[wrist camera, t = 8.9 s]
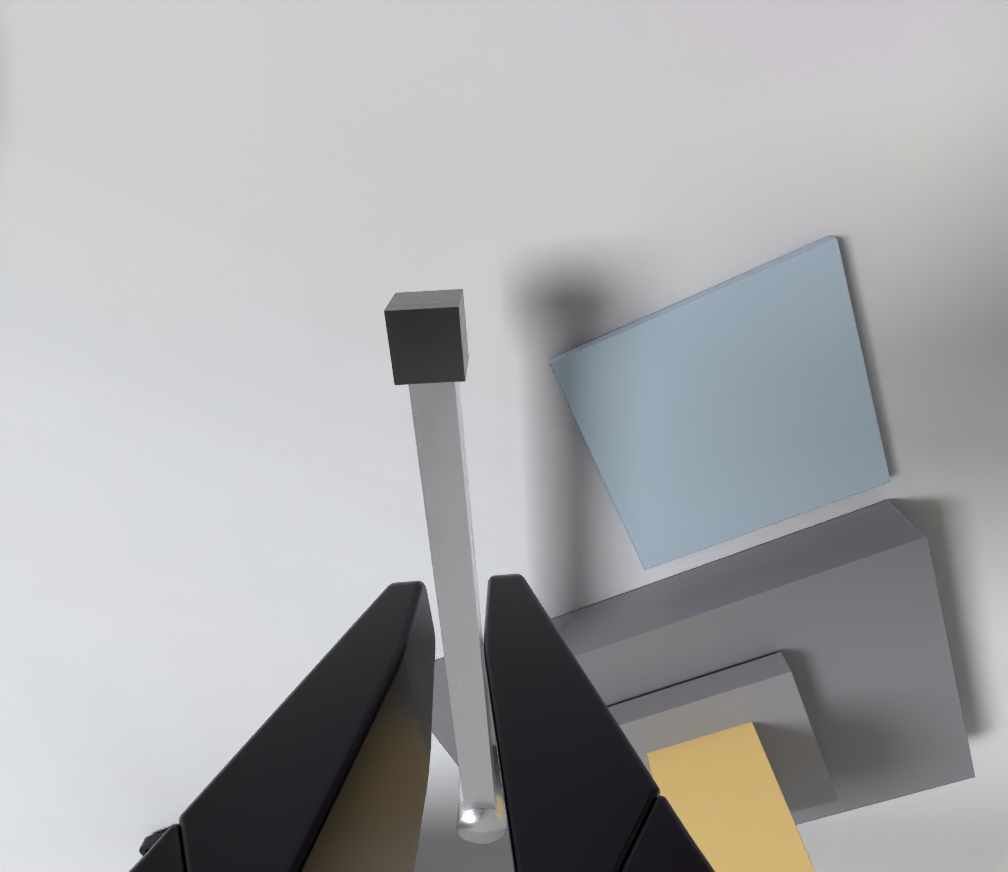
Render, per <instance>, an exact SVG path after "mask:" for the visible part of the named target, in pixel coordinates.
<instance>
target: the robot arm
mask: <svg viewBox="0 0 1008 872" xmlns="http://www.w3.org/2000/svg"><path fill="white" fill-rule="evenodd" d="M484 662H485V670H486V677H487V684H488V691H489V698H490V705H491V712H492V719H493V726H494V733H495V740H496V747H497V754H498V761H499V768H500V776H501V783H502V790H503V797H504V804H505V811H506V818H507V825H508V832H509V839H510V846H511V853H512V860H513V867H514V872H715V871H714V869H713V868H712V866H711V865H710V863H709V862H708V861H707V859H706V858H705V856H704V855H703V853H702V852H701V850H700V849H699V847H698V846H697V844H696V843H695V842H694V840H693V839H692V837H691V836H690V834H689V833H688V831H687V830H686V828H685V827H684V825H683V824H682V822H681V820H680V819H679V817H678V816H677V814H676V813H675V811H674V810H673V808H672V806H671V805H670V803H669V802H668V800H667V799H666V797H664V796H660V789H659V787H658V785H657V784H656V782H655V781H654V779H653V778H652V776H651V774H650V773H649V771H648V770H647V768H646V767H645V765H644V764H643V762H642V760H641V759H640V757H639V756H638V754H637V753H636V751H635V750H634V748H633V746H632V745H631V743H630V742H629V740H628V739H627V737H626V736H625V734H624V732H623V731H622V729H621V728H620V726H619V725H618V723H617V722H616V720H615V718H614V717H613V715H612V714H611V712H610V711H609V709H608V708H607V706H606V704H605V703H604V701H603V700H602V698H601V697H600V695H599V694H598V692H597V690H596V689H595V687H594V686H593V684H592V683H591V681H590V680H589V678H588V676H587V675H586V673H585V672H584V670H583V669H582V667H581V666H580V664H579V662H578V661H577V659H576V658H575V656H574V655H573V653H572V652H571V650H570V648H569V647H568V645H567V644H566V642H565V641H564V639H563V638H562V636H561V634H560V633H559V631H558V630H557V628H556V627H555V625H554V624H553V622H552V620H551V619H550V617H549V616H548V614H547V613H546V611H545V610H544V608H543V606H542V605H541V603H540V602H539V600H538V599H537V597H536V596H535V594H534V592H533V591H532V589H531V588H530V586H529V585H528V583H527V581H526V580H525V578H524V577H523V576H522V575H520V574H508V575H494V576H492V577H490V579H489V581H488V590H487V603H486V616H485V629H484ZM434 666H435V633H434V627H433V621H432V616H431V611H430V605H429V600H428V594H427V590H426V587H425V585H424V583H422V582H421V581H411V582H397V583H392V584H390V585H389V586H388V587H387V588H386V589H385V590H384V591H383V592H382V593H381V594H380V596H379V597H378V598H377V599H376V600H375V601H374V602H373V603H372V604H371V606H370V607H369V608H368V609H367V610H366V611H365V612H364V613H363V614H362V615H361V617H360V618H359V619H358V620H357V621H356V622H355V623H354V624H353V625H352V627H351V628H350V629H349V630H348V631H347V632H346V633H345V634H344V635H343V636H342V638H341V639H340V640H339V641H338V642H337V643H336V644H335V645H334V646H333V648H332V649H331V650H330V651H329V652H328V653H327V654H326V655H325V656H324V657H323V659H322V660H321V661H320V662H319V663H318V664H317V665H316V666H315V667H314V669H313V670H312V671H311V672H310V673H309V674H308V675H307V676H306V677H305V678H304V680H303V681H302V682H301V683H300V684H299V685H298V686H297V687H296V688H295V690H294V691H293V692H292V693H291V694H290V695H289V696H288V697H287V698H286V699H285V701H284V702H283V703H282V704H281V705H280V706H279V707H278V708H277V709H276V711H275V712H274V713H273V714H272V715H271V716H270V717H269V718H268V719H267V721H266V722H265V723H264V724H263V725H262V726H261V727H260V728H259V729H258V730H257V732H256V733H255V734H254V735H253V736H252V737H251V738H250V739H249V740H248V742H247V743H246V744H245V745H244V746H243V747H242V748H241V749H240V750H239V751H238V753H237V754H236V755H235V756H234V757H233V758H232V759H231V760H230V761H229V763H228V764H227V765H226V766H225V767H224V768H223V769H222V770H221V771H220V772H219V774H218V775H217V776H216V777H215V778H214V779H213V780H212V781H211V782H210V784H209V785H208V786H207V787H206V788H205V789H204V790H203V791H202V792H201V793H200V795H199V796H198V797H197V798H196V799H195V800H194V801H193V802H192V803H191V805H190V806H189V807H188V808H187V809H186V810H185V811H184V812H183V813H182V814H181V816H180V818H179V824H180V825H179V824H173V825H171V826H170V827H169V828H168V830H166V831H163V832H160V833H157V834H154V835H151V836H148V837H146V838H145V839H144V841H143V843H142V845H141V847H140V849H139V851H140V853H141V854H142V855H143V857H142V858H141V859H140V860H139V862H138V863H137V864H136V865H135V866H134V867H133V868H132V869H131V870H130V871H129V872H413V871H414V865H415V858H416V852H417V846H418V840H419V834H420V827H421V821H422V815H423V809H424V803H425V796H426V790H427V782H428V775H429V764H430V751H431V731H432V709H433V687H434Z"/></svg>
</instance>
